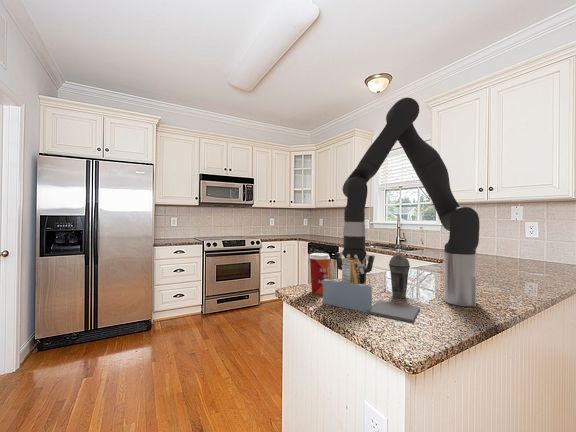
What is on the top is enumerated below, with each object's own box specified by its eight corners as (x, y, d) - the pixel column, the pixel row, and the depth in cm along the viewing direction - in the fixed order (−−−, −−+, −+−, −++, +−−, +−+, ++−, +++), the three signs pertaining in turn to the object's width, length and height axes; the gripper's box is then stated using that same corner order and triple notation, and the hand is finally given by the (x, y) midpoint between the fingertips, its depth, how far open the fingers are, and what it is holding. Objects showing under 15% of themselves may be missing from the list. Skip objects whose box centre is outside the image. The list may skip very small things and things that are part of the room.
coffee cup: (324, 296, 101) (324, 256, 101) (305, 293, 105) (305, 254, 105) (333, 291, 108) (333, 253, 108) (314, 288, 112) (315, 252, 112)
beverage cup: (388, 297, 100) (388, 243, 100) (389, 292, 106) (389, 241, 106) (410, 300, 97) (410, 244, 97) (409, 294, 104) (409, 242, 104)
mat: (419, 309, 87) (419, 307, 87) (413, 322, 76) (413, 319, 76) (378, 302, 94) (378, 300, 94) (367, 313, 84) (367, 310, 84)
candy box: (356, 297, 100) (357, 255, 100) (366, 300, 97) (366, 257, 97) (341, 302, 94) (341, 258, 94) (351, 305, 91) (351, 259, 91)
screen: (371, 310, 86) (371, 285, 86) (369, 312, 84) (369, 286, 84) (325, 302, 95) (325, 279, 95) (322, 303, 93) (322, 280, 93)
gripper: (378, 235, 95) (377, 283, 95) (339, 233, 103) (339, 278, 103) (371, 236, 89) (371, 288, 89) (331, 234, 96) (330, 282, 96)
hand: (354, 282), depth 96 cm, fingers closed on candy box, 5 cm apart
